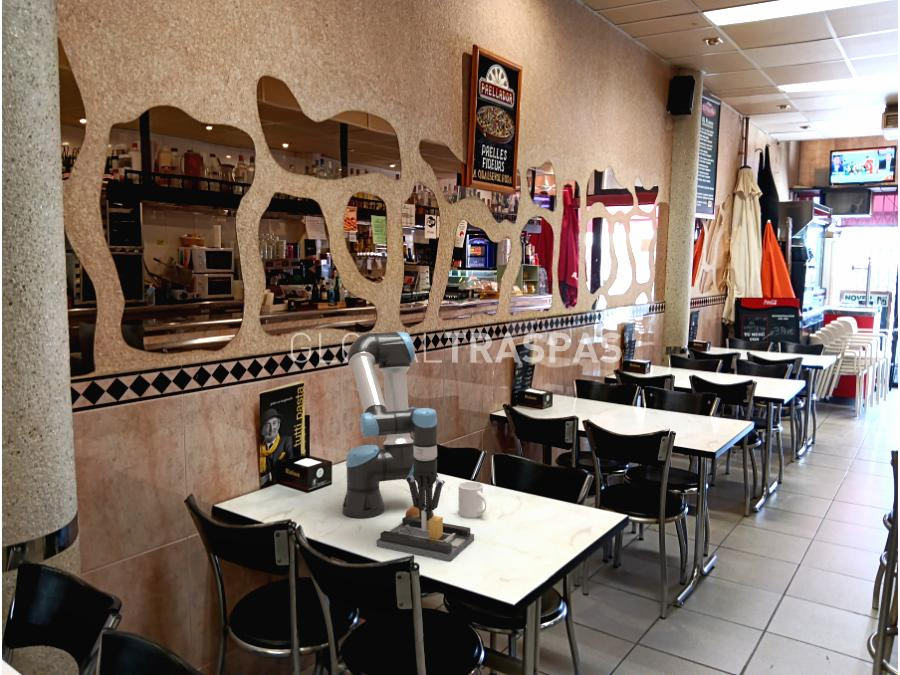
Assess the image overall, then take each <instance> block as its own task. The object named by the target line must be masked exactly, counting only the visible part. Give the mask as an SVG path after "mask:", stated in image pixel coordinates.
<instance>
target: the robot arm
mask: <svg viewBox="0 0 900 675" xmlns="http://www.w3.org/2000/svg"><path fill="white" fill-rule="evenodd" d="M347 353H348V354H347V363H348V368H349V369H350V370H351V371H352V372H353V376H354V379H355V383H356V387H357V391H358V396H359V398H360V402H361V407H362V410H363V413H361V414H360V417H359V428H360V433H361V434H362V436H363V437H378V436H386V439H385V440H384V441H383V443H382V447H383V448H379V445H376V444H362V445H359V446H355V447H354V448H352V449H350V450H349V451H347V454H346V460H345V461H346V463H345V465H346V493H345V496H344V500H343V502H342V509H341V510H342V514H343V515H345V516H346V517H348V518H349V517H350V518H355V519H366V518H367V519H368V518H373V517H376V516H380V515H382V514H383V513H384V512H385V501H384V500H383V496H382V493H381V490H380V482H388V481H391V482H392V481H399V480H401V481H402V480H406V482H407V484H408V486H409V491H410V496H411V501H412V505H414V507H415V508H416V507H417V508H418V509H419V518H420V519H421V520H422V531H427V530H428V529H429V519H430V518H432V511H435V510H436V509H437V508H438V507H439V501H440V497H441V492H442V488H443V487H444V485H445V483H446V481H445V480H443V479H441V478H439V474H438V470H437V469H438V459H437V457H438V446H437V445H438V439H437V438H438V432H437V431H438V428H437V427H438V417H437V411H436V409H434V408H429V407H423V408H422V407H421V408H417V407H413V406H412V407H409V394H408V393H409V392H408V377H407V375H408V374H407V373H408V371H409V369H410V368H411V364H412V363H414V361H415V355H416V352H415V346H414V343H413V340H412V338H411V336H410V334H408V333H407V332H402V331H392V332H391V331H389V332H367V333H365V334H362V335H360V336H359V337H357V338H356V339H355V340H354V341H353V343H352V344H351V345H350V347H349V350H348V352H347ZM375 365H378V369H379V371H380V372H381V373H382V376H383V389H384V390H382V389H381V385H380V382H379V378H378V374H377V371H376V367H375ZM382 391H383V392H384V396H383V392H382ZM411 434H412V437H411ZM434 484H435V488H434ZM433 489H434V491H433ZM425 505H426V506H425ZM425 507H426V508H425Z"/></svg>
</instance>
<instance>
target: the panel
mask: <svg viewBox="0 0 900 675" xmlns="http://www.w3.org/2000/svg"><path fill="white" fill-rule="evenodd" d="M379 536H380V537H379V538H378V539H376V547H378V548H383V549H387V550H388V549H389V550H392V551H398V552H403V553H409V554H413V555H416V556H417V555H418V556H422V557H428V558H431V557H432V558H433V559H437V560H442V561H447V562H451V561H452V560H453V559H455V558H456V557H457V556H458V555H460V553H462V551H464V550H465V549H466V548H467V547H468V546H469V545H471V544H472V543H473V542H474V541H475V533H472V532H471V527H468V526H462V525H456V524H451V523H446V522H445V523H444V522H443V538H442V539H440V540H436V539H431V538H429V529H428V530H427V531H422V520H421V519H418V518H413V517H407V516H406V515H405V516H404V517H402V520H401V523H400V524H398V525H397V526H395V527H394V528H392V529H391V530H390V531H388V530H383V531H382V532H380V535H379Z"/></svg>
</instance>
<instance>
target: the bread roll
mask: <svg viewBox="0 0 900 675" xmlns="http://www.w3.org/2000/svg"><path fill="white" fill-rule="evenodd" d="M425 506H426V504H425ZM425 508H426V507H425ZM405 516H407V517H413V518H418V519H420V518H419V509H418V508H417V507H416V508H415V507H414V505H413V504H412V506H410V507H409V508H408V509H406V512H405ZM433 516H435V514H434V510H432V517H433Z"/></svg>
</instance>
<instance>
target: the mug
mask: <svg viewBox="0 0 900 675" xmlns="http://www.w3.org/2000/svg"><path fill="white" fill-rule="evenodd" d="M483 489H484V488H483V483H481V482H477V481H463V482H460V483H459V484H458V514H459V516H460V517H462V518H465V519H476V518H480V517H481V516H482V515H483V514H484V513H485V512H486V510H487V509H486V508H487V500H486V497H485V495H484V494H483V493H484V490H483ZM483 504H484V509H483Z"/></svg>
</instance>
